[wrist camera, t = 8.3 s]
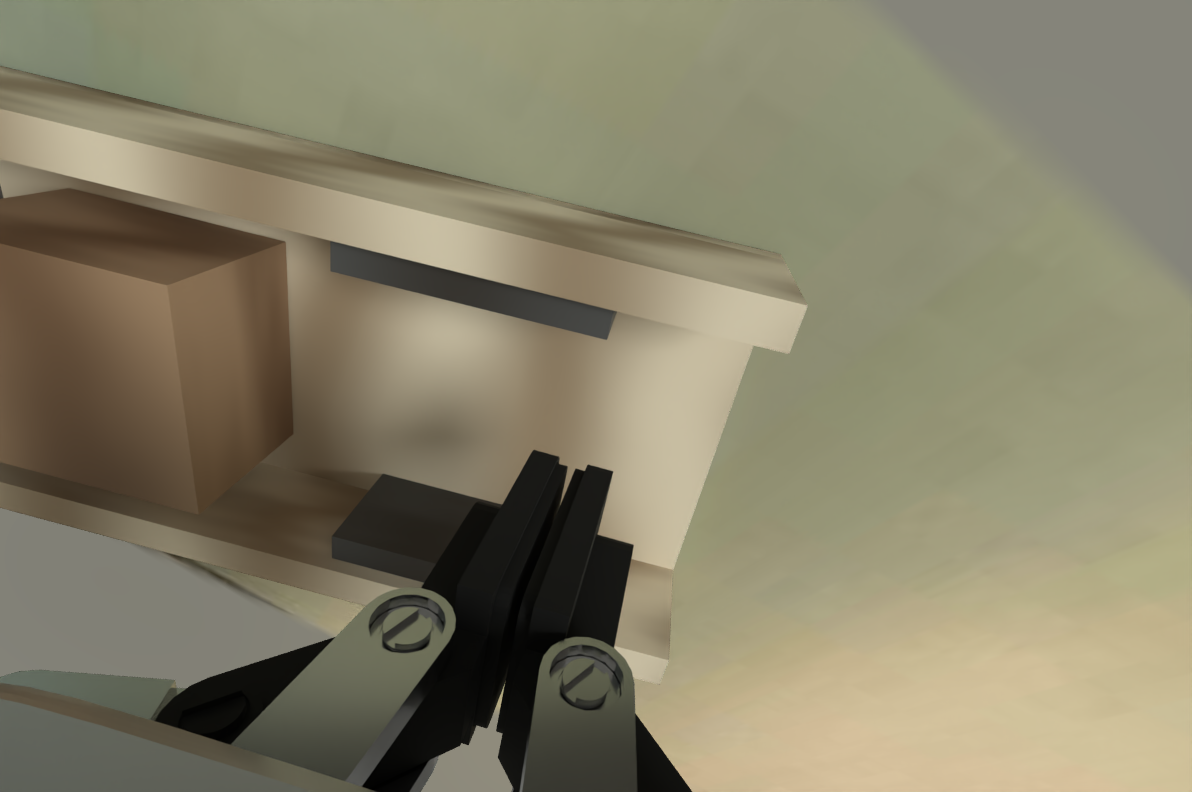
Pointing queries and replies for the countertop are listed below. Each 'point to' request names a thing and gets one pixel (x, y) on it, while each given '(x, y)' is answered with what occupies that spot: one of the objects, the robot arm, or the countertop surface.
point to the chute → (422, 350)
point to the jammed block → (140, 347)
